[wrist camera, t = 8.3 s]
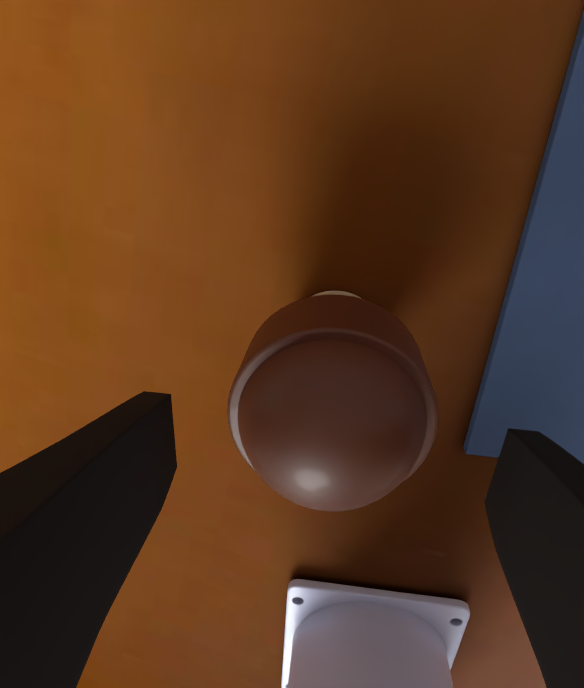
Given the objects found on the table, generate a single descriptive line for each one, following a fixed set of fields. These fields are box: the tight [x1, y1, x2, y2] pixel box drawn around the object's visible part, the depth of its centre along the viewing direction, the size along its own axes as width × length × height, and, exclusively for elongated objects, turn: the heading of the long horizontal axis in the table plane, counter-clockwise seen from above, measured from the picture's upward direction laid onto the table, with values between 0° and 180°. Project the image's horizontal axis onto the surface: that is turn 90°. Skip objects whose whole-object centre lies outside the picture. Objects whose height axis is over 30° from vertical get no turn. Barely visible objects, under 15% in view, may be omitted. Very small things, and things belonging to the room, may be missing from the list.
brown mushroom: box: [227, 291, 438, 512], centre depth 12 cm, size 5×5×7 cm
